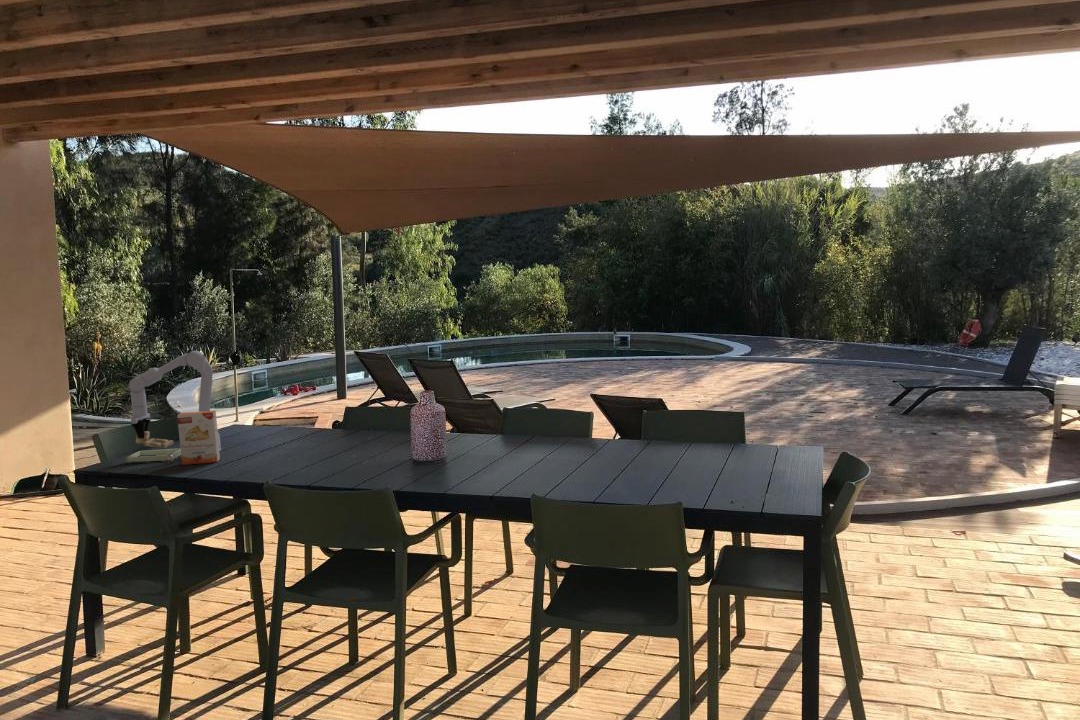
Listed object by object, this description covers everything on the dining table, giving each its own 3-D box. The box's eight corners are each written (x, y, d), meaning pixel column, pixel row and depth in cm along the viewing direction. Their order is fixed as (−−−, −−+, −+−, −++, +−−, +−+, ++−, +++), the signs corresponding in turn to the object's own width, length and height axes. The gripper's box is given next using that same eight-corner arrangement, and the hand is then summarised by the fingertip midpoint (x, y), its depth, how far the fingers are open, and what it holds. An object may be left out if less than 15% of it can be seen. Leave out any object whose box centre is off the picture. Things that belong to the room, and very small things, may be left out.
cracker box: (181, 465, 355) (176, 414, 353) (185, 462, 361) (180, 412, 359) (217, 462, 357) (212, 411, 355) (220, 459, 363) (215, 409, 361)
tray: (184, 453, 380) (183, 448, 379) (172, 460, 366) (171, 454, 366) (139, 456, 379) (139, 450, 379) (126, 463, 365) (125, 457, 365)
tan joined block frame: (173, 443, 377) (174, 432, 376) (165, 448, 368) (166, 436, 367) (141, 440, 376) (142, 428, 375) (132, 444, 367) (133, 432, 366)
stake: (174, 462, 363) (173, 451, 362) (170, 464, 358) (169, 453, 358) (170, 462, 363) (168, 451, 362) (166, 464, 358) (164, 453, 358)
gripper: (136, 403, 377) (140, 434, 378) (122, 409, 362) (125, 441, 364) (153, 402, 377) (156, 433, 379) (139, 408, 363) (143, 440, 364)
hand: (142, 437), depth 371 cm, fingers closed on tan joined block frame, 2 cm apart
